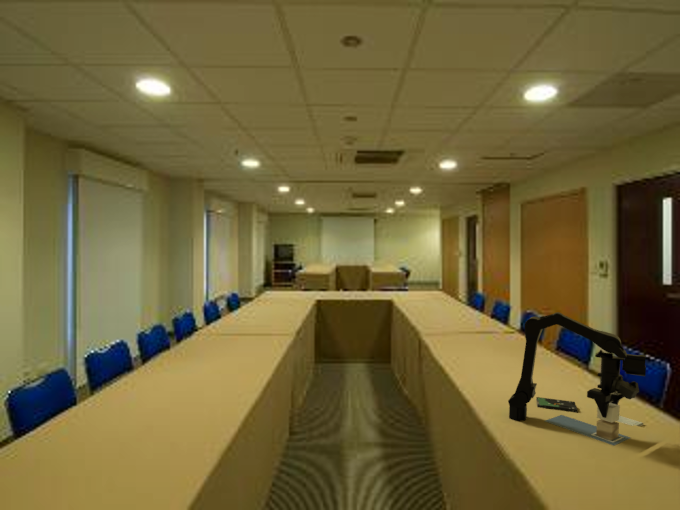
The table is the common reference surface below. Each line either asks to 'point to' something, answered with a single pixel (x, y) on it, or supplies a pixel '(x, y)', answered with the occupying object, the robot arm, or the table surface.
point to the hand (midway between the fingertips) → (608, 416)
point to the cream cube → (610, 413)
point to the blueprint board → (583, 429)
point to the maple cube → (607, 429)
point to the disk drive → (556, 404)
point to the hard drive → (629, 421)
